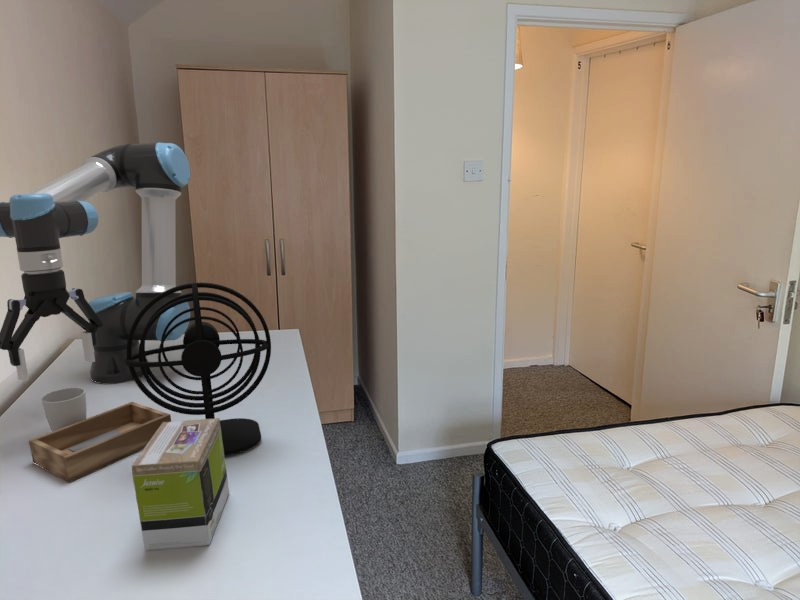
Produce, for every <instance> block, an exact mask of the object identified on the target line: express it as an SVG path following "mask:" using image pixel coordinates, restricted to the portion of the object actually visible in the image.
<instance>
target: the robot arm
mask: <svg viewBox="0 0 800 600" xmlns="http://www.w3.org/2000/svg"><path fill="white" fill-rule="evenodd" d="M190 179H191V168H190V163H189V161H188V158H187V156H186V155H185V152H184V151H183V149H182V148H181V147H180V146H179V145H177V144H176V143H171V142H161V141H159V142H150V143H124V144H118V145H116V146H112V147H110V148H108V149H104V150H102V151H100V152H98V153H95V154H94V155H92V156H90V157H87V158H86V159H84V160H83V162H82V164H81V166H79V167H77V168H76V169H73V170H71V171H69V172H68V173H65V174H64V175H62V176H60V177H57V178H56V179H54V180H51V181H49V182H47V183H46V184H43V185H42V186H40V187H37V189H36V188H35V189H34V190H31V191H30V192H28V193H20V194H17V193H16V194H13V195H11V196H10V197H9V200H8V201H9V202H5V201H0V238H1V237H2V238H9V239H10V238H11V239H13V238H15V245H16V252H17V253H16V254H17V259H18V265H19V270H20V271H21V272H23V273H21V275H20V277H21V281H22V289H23V293H24V298H22V299H12V298H10V299H8V300H7V302H6V303H7V305H6V306H7V312H6V314H5V318H4V320H3V323H2V325H1V329H0V350H2V351H7V352H8V357H9V363H10V365H11V366H13V367H15V368H16V373H17V379H18V380H20V381H23V382H28V381H29V380H30V378H29V373H28V368H27V362H26V356H25V350H24V349H23V348H20V347H21V345H22V344H23V342H24V340H25V339H26V337H27V336H28V334H29V333H30V332H31V330H32V328H33V327H34V325H35V324H36V322H37V321H39V320H40V318H41V317H42V318H46V317H50V316H52V315H53V316H55V315H56V316H58V315H60V314H61V313H62V314H63V315H64V316H66V317H67V318H69V319H70V320H71V321H73V322H74V323H75V324H76V325H78V326H79V327H80V328H81V329H83V330H84V331H81V332H80V334H81V341H82V348H83V355H84V360H85V361H86V362H89V363H91V366H90V370H89V375H90V380H91V379H92V380H93V381H96V382H100V383H99V384H102V383H109V384H118V382H119V383H124V382H129V381H134V379H133V377H132V375H131V372H130V370H129V366H127V365H125V358H126V357H127V341H128V336H129V333H130V330H131V327H132V325H133V323H134V321H135V319H136V317H137V316H138V314H139V313H140V311H141V310H142V309H143V308H144V307H145V306H146V305H147V304H148V303H149V302H150V301H151V300H152V299H153V298H155V297H156V296H158V295H159V294H161V293H163V292H164V291H166V290H169V289H171V288H173V287H176V286H177V283H176V279H177V277H176V274H177V273H176V272H177V271H176V258H177V257H176V255H177V254H176V201H177V199H178V198H179V197H180V196H181V195H182V187H185V186H186V185H188V184H189V181H190ZM119 188H135V193H136V194H137V195H139V197H140V199H141V285H140V287H139V288H138V289H137V290H136V291H135V295H134V294H133V293H132V292H131V291H123V292H122V291H121V292H117V293H111V294H107V295H102V296H98V297H95V298H92V299H91V300H90V301H89V302H88V300H87V299H86V298H85V294H84V290H83V289H81V288H76V287H74V288H71V290H67V281H66V274H65V271H64V270H63V269H62V268H63V267H64V262H63V256H62V248H61V242H60V239H61V238H69V237H77V236H81V237H82V236H84V235H89V234H90V233H92V232H94V231H95V230H96V229H97V227H98V225H99V215H98V214H99V213H98V212H97V209H96V208H95V207H94V205H92V204H91V203H89V201H88V202H87V200H89V199H91V198H92V197H94V196H96V195H97V194H100V193H108V192H111V191H112V190H114V189H119ZM181 295H182V290H180V291H177V292H174V293H172V294H170V295H168V296H166V297H164V298H162V299H161V300H159V301H158V302H156V303H155V304H154V305H153V306H152V307H151V308H149V310H148V311H147V312H146V313H145V314H144V315H143V317H142V318H141V320H140V321H139V323H138V325H137V327H136V329H135V332H134V336H133V341H132V355H133V354H136V353H139V345H140V340H141V337H142V334H143V332H144V329H145V327H146V325H147V323H148V321H149V319H150V318H151V316H152V315H153V314H154V313H155V312H156V311H157V310H158V309H159V308H160V307H161V306H162V305H163V304H165V303H166V302H168V301H170V300H171V299H173V298H176V297H178V296H181ZM69 299H71V300H73V301H74V303H75V304H76V305H77V307H78V308H79V309H80V311H81V312H82V313H83V315H84V316H85V317H86V319H87V320H88V321H87V320H86V319H85V318H84V317H82V316H81V315H80V314H79V313H77V312H76V311H75V310H74V309H73V308H72V307H71V306H69V305H68V304H67V303H68V301H69ZM189 305H190V304H189V302H185V303H182V304H179V305H176V306H174V307H172V308H170V309H169V310H167V311H166V312H164V313H163V314H162V315H161V316H160V317H158V318H157V320H156V321H155V322H154V323H153V324H152V326H151V327H150V329H149V331H148V333H147V335H146V339H145V341H155V342H156V341H159V342H161V339H162V335H163V332H164V329H165V328H166V326H167V324H168V323H169V322H170V321H171V320H172V319H173V318H174V317H175V316H176V315H177V314H179V313H181V312H183V311H185V310H187V309H191V308H190V306H189ZM24 307H26V308H27V309H28V310H27V311H26V312H25V314H24V317H23V319H22V320H21V322H20V323H19V326H18V327H17V323H18V321H19V317H20V313H21V311H22V310H23V308H24ZM188 318H191V311H190V312H187V313H185V314H183V315H181V316H179V317H178V318H177V319H176V320H174V321H173V322H172V324H171V325H170V326H169V328H168V329H167V331H166V333H167V332H168V331H169V330H170V329H171V328H172V327H173V326H174V325H176V324H177V323H179V322H181V321H183V320H185V319H188ZM189 323H190V321H189V322H186V323H183V324H181V325H180V326H178V327H177V328H175V329H174V330H173V331H172V332H171V333H170V334H169V335H168V336H167V338H166V339H165V341H164V342H166V341H167V342H168V341H176V340H178V339H180V338H181V337H182V336H183V335H185V332H186V330H187V329H188V328H189V327H188V326H189ZM16 327H17V329H16ZM15 329H16V330H15ZM133 361H137V362H139V358H138V359H135V360H133ZM147 362H149V360H147ZM135 370H136V372H137V374H138V376H139V378H141V377H144V376H143V373H142V371H141V368H140V367H135ZM92 380H91V381H92ZM93 381H92V382H93ZM96 382H95V383H96Z"/></svg>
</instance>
